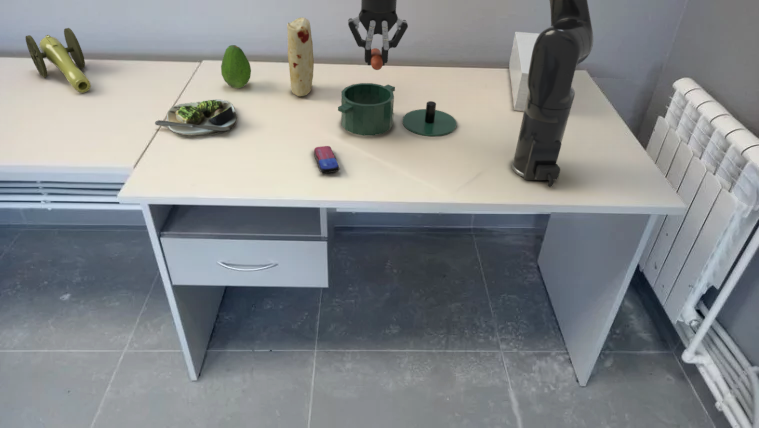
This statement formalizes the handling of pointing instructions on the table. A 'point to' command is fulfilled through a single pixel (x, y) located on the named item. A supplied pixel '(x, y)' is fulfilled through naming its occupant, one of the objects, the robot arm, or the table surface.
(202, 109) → the salad plate
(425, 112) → the lid
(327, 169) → the eraser
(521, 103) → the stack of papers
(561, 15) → the robot arm
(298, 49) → the food model
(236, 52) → the avocado
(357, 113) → the pot
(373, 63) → the hot dog
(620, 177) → the table surface
